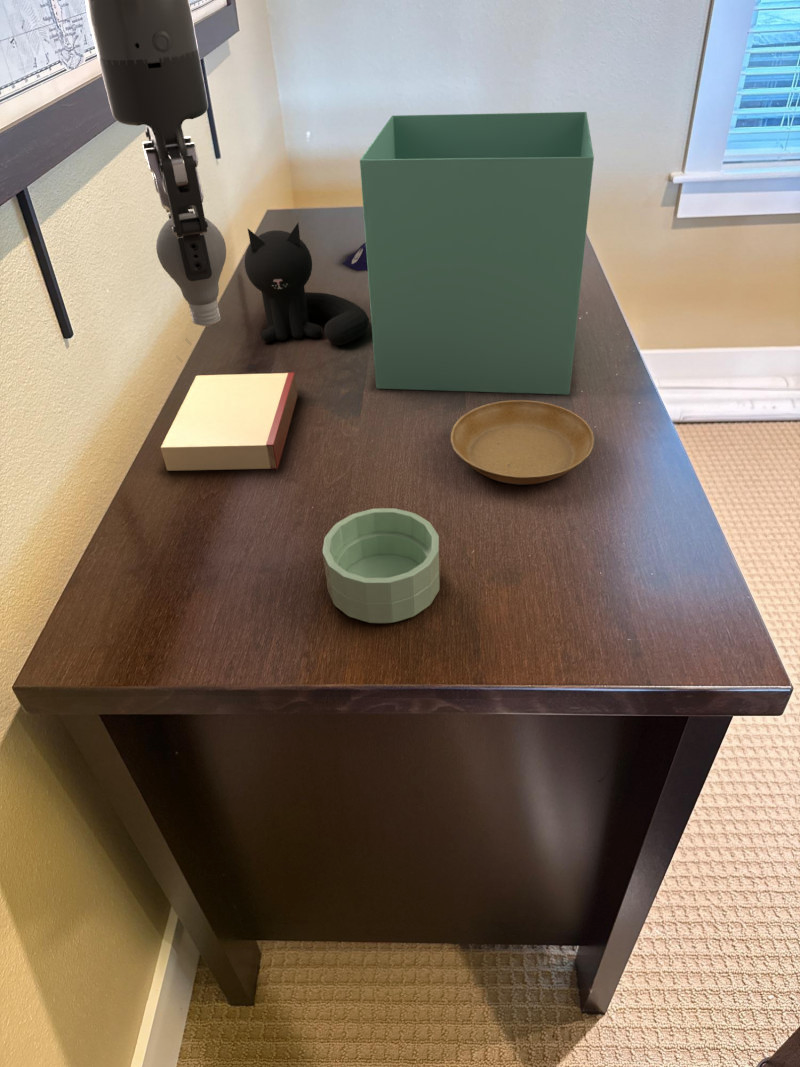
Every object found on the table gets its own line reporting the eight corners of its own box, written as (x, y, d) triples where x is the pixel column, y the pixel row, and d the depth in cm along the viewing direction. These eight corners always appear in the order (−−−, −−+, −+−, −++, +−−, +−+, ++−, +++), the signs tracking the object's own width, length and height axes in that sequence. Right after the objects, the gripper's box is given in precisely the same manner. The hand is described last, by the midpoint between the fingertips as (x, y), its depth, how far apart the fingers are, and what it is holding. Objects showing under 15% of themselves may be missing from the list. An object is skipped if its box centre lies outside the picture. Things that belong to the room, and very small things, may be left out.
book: (277, 469, 82) (273, 444, 80) (167, 471, 83) (160, 447, 81) (297, 395, 95) (294, 372, 93) (201, 397, 95) (196, 374, 93)
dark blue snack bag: (332, 259, 131) (330, 235, 128) (402, 238, 137) (402, 215, 135) (363, 274, 125) (361, 249, 122) (435, 251, 131) (435, 227, 129)
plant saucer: (584, 506, 75) (587, 484, 73) (436, 487, 78) (435, 466, 77) (597, 427, 86) (599, 406, 84) (466, 414, 89) (466, 394, 87)
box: (566, 321, 107) (586, 111, 91) (569, 394, 92) (593, 157, 75) (401, 318, 111) (391, 115, 94) (376, 388, 95) (359, 159, 78)
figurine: (252, 358, 103) (231, 244, 94) (258, 315, 114) (240, 210, 104) (372, 348, 103) (363, 234, 94) (367, 307, 114) (358, 201, 105)
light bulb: (162, 333, 72) (134, 222, 66) (199, 308, 76) (176, 202, 70) (216, 341, 70) (193, 228, 64) (251, 315, 74) (232, 206, 68)
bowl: (347, 640, 62) (342, 595, 59) (316, 567, 70) (309, 524, 66) (457, 608, 65) (457, 563, 62) (416, 540, 72) (414, 497, 69)
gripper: (93, 41, 63) (145, 247, 74) (100, 65, 53) (160, 302, 63) (185, 32, 65) (223, 235, 76) (210, 54, 54) (250, 286, 65)
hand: (194, 265), depth 69 cm, fingers closed on light bulb, 6 cm apart
